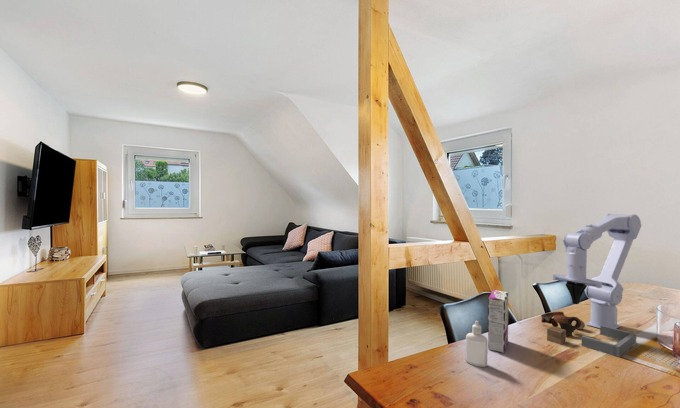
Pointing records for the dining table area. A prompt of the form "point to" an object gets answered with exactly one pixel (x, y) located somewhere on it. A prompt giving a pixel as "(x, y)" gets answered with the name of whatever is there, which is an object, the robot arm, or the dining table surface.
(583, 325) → the cork ball
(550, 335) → the walnut block
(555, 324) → the pottery mug
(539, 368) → the dining table surface
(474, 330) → the eye dropper bottle
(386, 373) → the dining table surface
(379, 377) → the dining table surface
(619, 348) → the corral
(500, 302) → the candy bar box
